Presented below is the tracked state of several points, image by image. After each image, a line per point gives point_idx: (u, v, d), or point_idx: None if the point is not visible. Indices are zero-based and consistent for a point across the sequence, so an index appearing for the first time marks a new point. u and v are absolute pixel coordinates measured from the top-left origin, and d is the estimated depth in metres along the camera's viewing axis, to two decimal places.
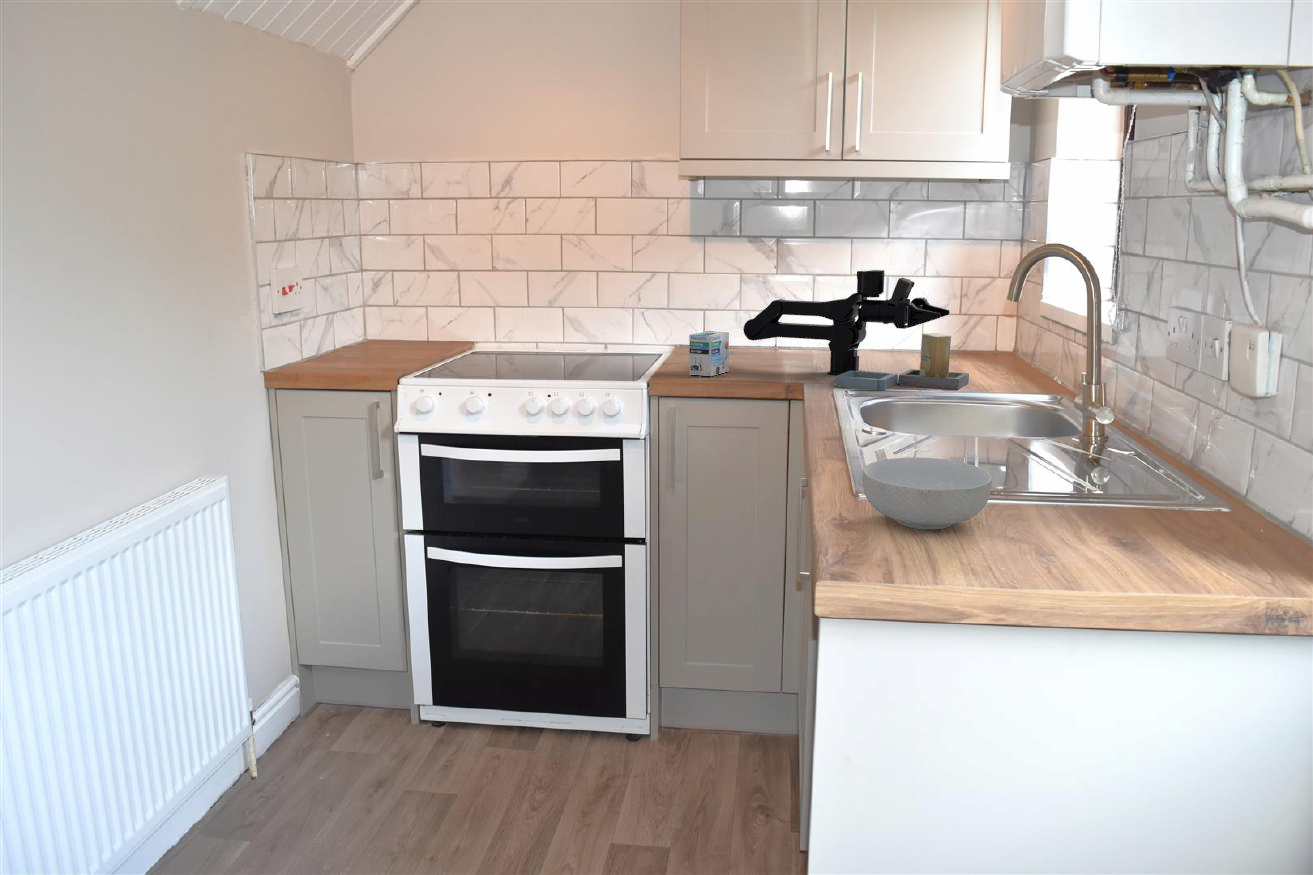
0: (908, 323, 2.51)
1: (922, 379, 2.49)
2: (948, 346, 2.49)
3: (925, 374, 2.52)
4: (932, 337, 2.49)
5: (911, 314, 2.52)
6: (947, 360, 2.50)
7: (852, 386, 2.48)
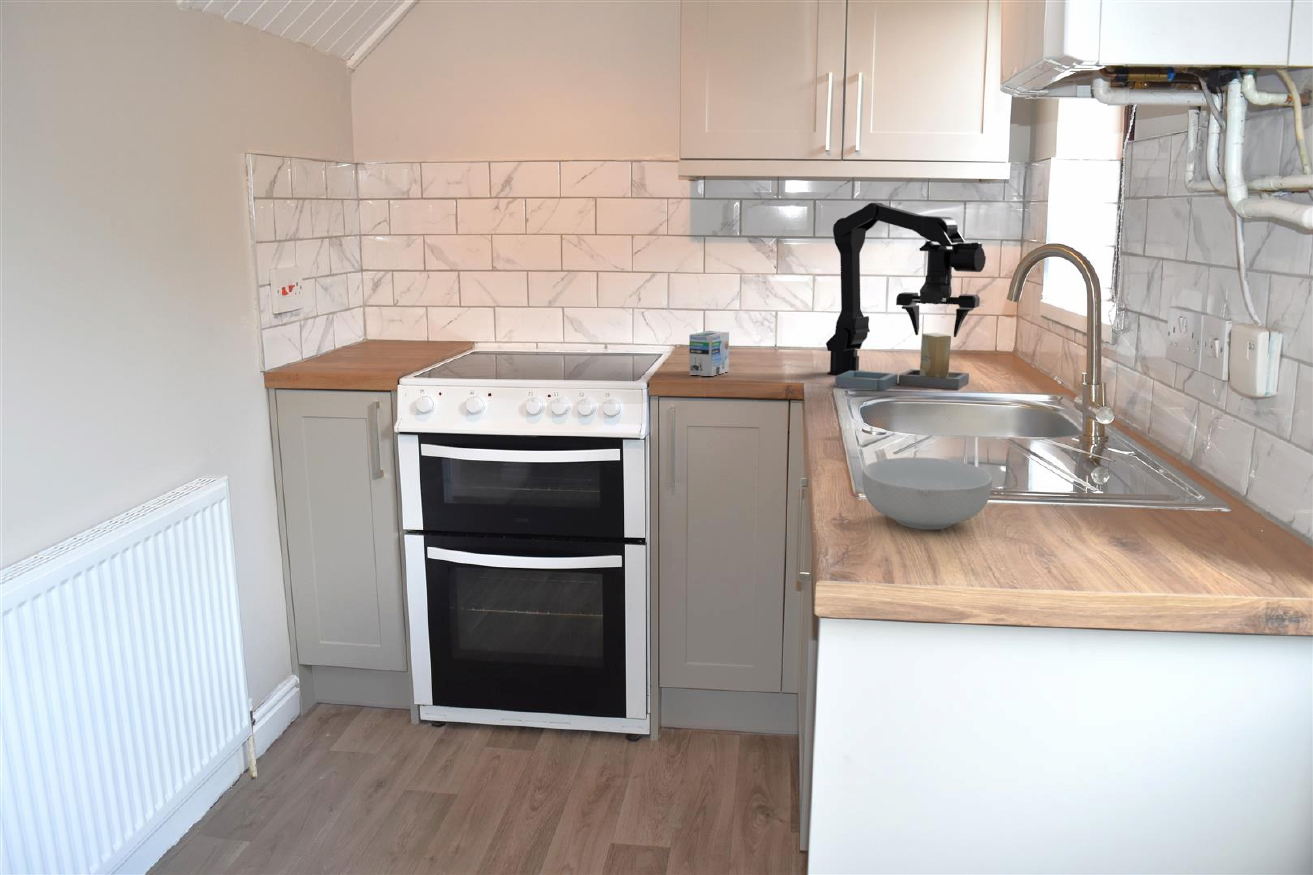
0: None
1: (922, 379, 2.49)
2: (948, 346, 2.49)
3: (925, 374, 2.52)
4: (932, 337, 2.49)
5: None
6: (947, 360, 2.50)
7: (852, 386, 2.48)
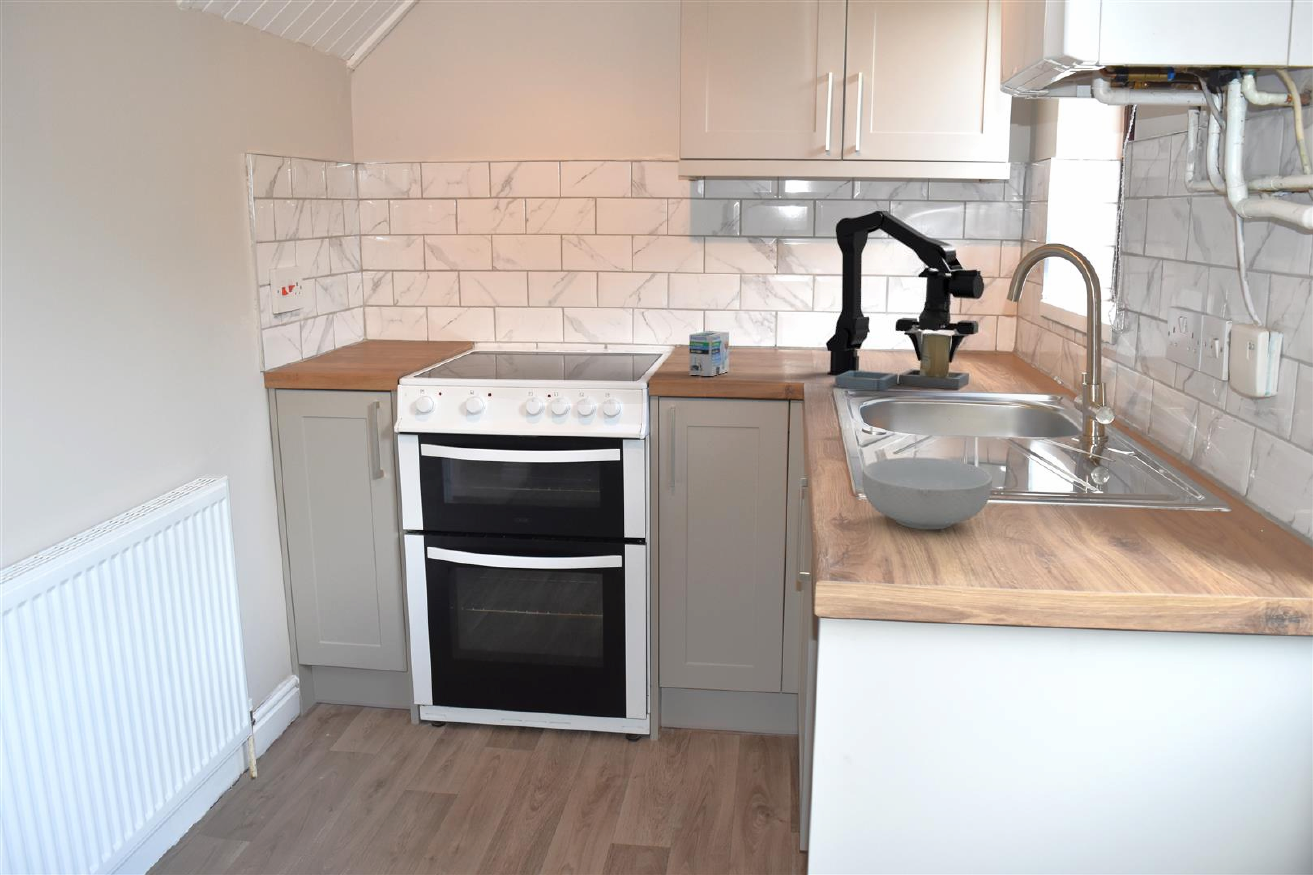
0: None
1: (922, 379, 2.49)
2: (948, 346, 2.49)
3: (925, 374, 2.52)
4: (932, 337, 2.49)
5: None
6: (947, 360, 2.50)
7: (852, 386, 2.48)
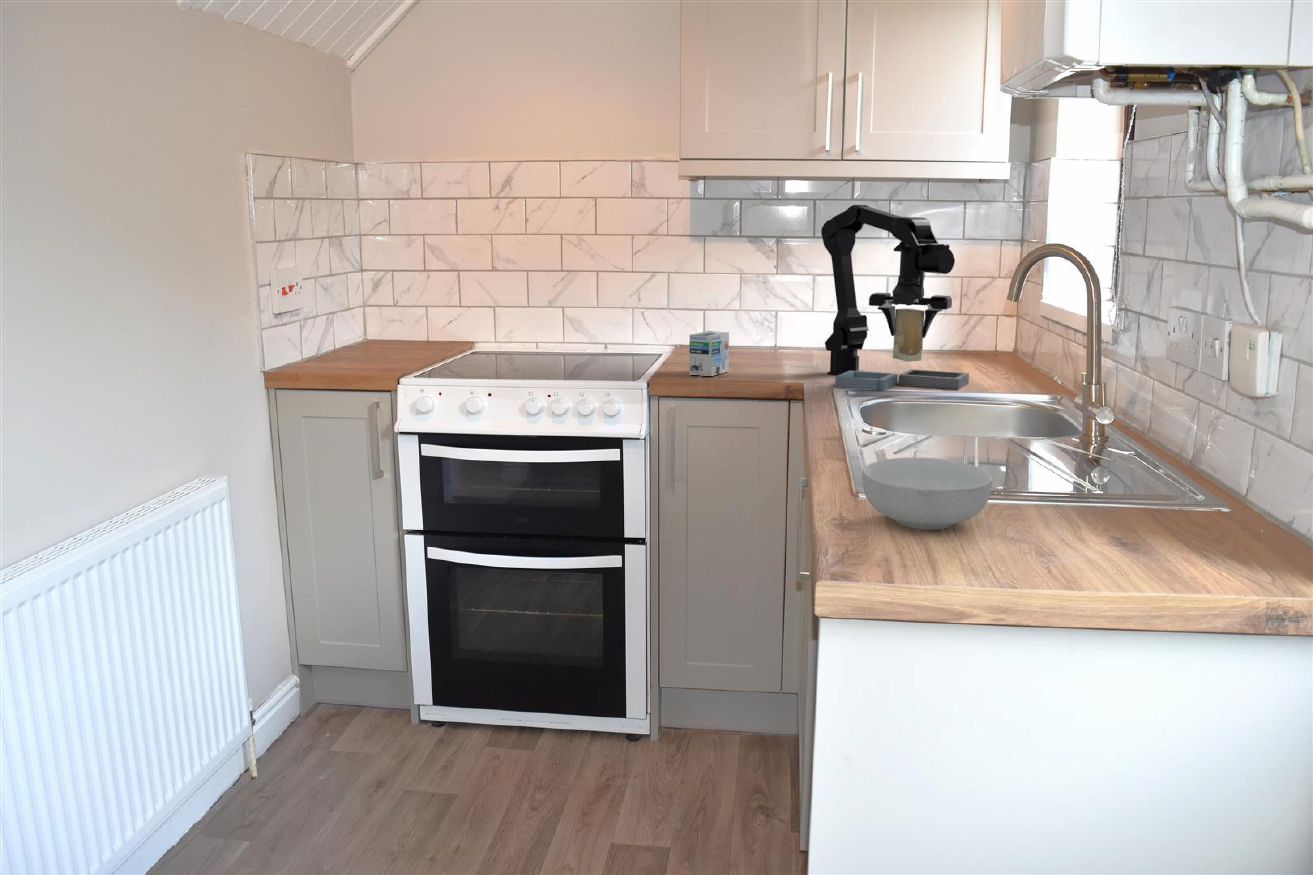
0: None
1: (922, 379, 2.49)
2: (921, 321, 2.47)
3: (899, 350, 2.51)
4: (905, 312, 2.47)
5: None
6: (920, 335, 2.48)
7: (852, 386, 2.48)
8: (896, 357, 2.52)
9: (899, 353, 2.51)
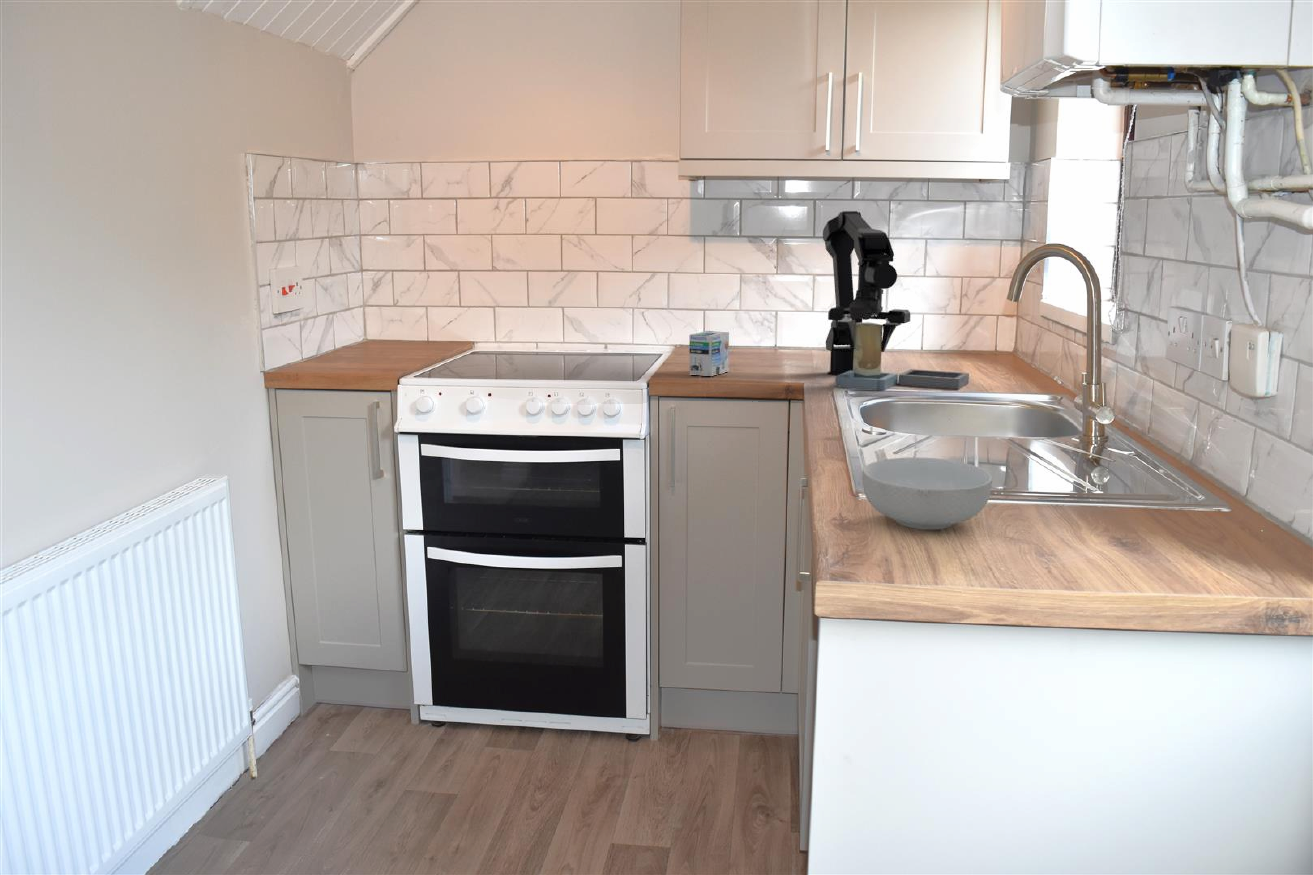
0: None
1: (922, 379, 2.49)
2: (880, 335, 2.47)
3: (858, 364, 2.51)
4: (863, 326, 2.47)
5: None
6: (879, 349, 2.48)
7: (852, 386, 2.48)
8: (856, 371, 2.52)
9: (859, 367, 2.51)
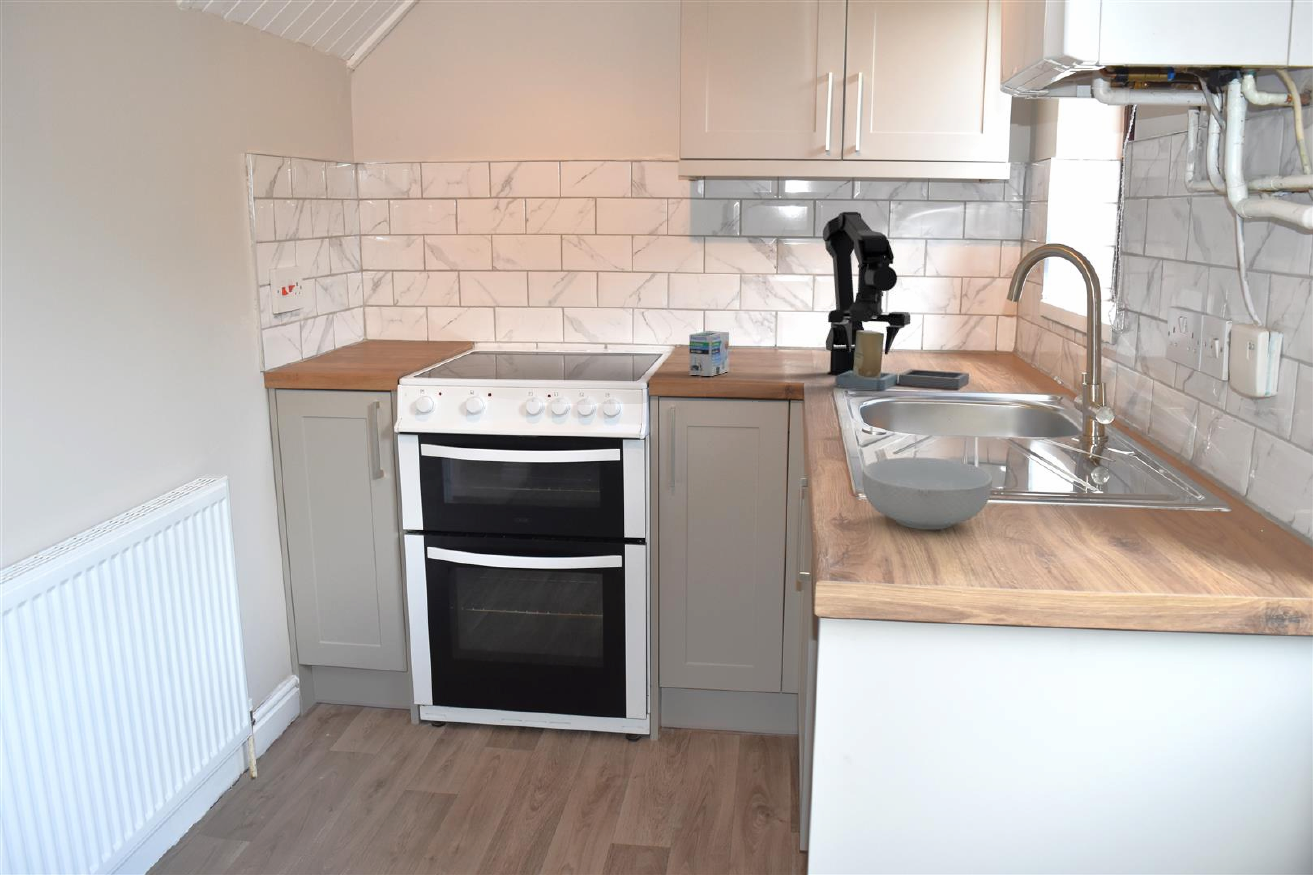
0: None
1: (922, 379, 2.49)
2: (881, 343, 2.48)
3: (858, 371, 2.51)
4: (865, 334, 2.48)
5: None
6: (879, 358, 2.48)
7: (852, 386, 2.48)
8: None
9: (859, 374, 2.51)
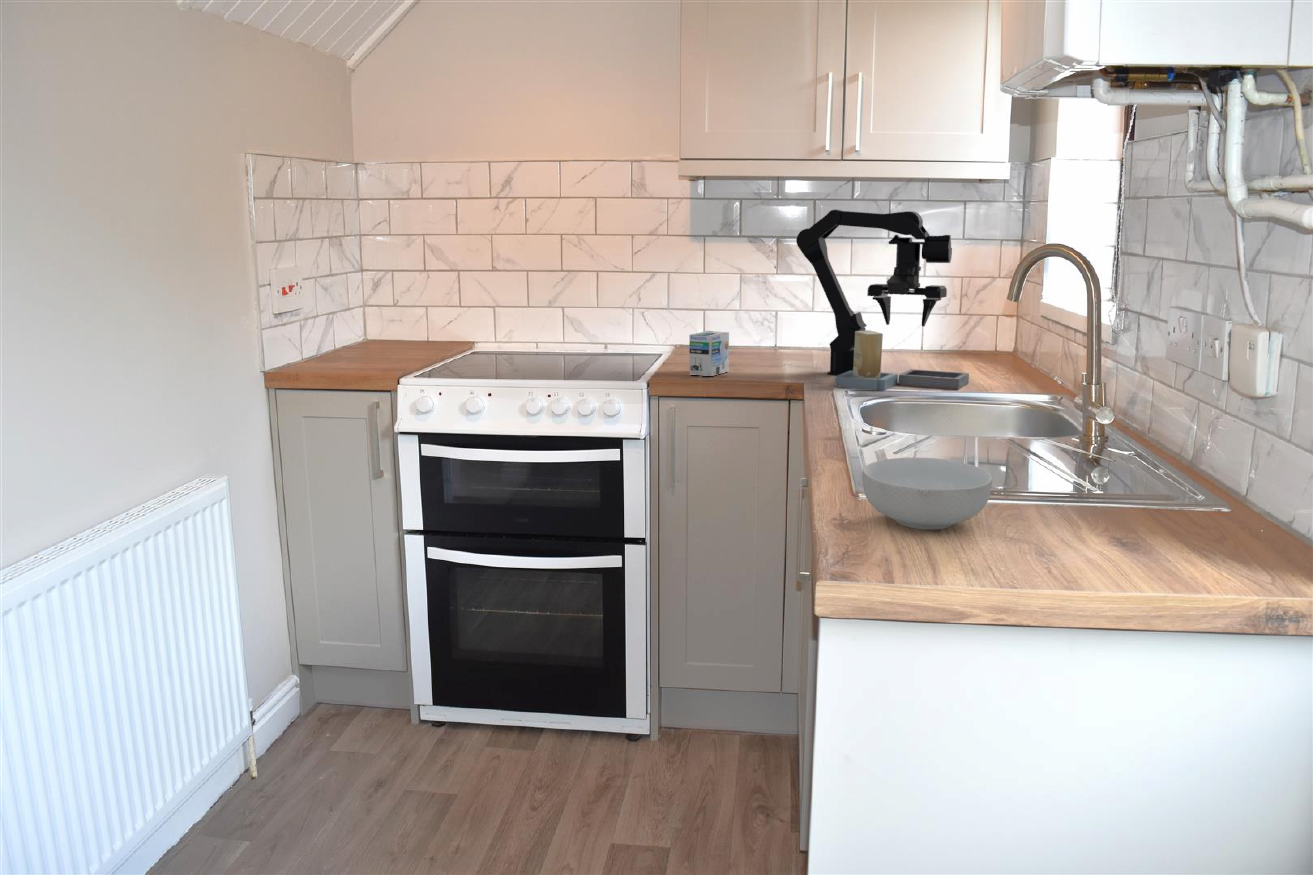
0: None
1: (922, 379, 2.49)
2: (880, 344, 2.48)
3: (858, 372, 2.51)
4: (863, 334, 2.47)
5: None
6: (879, 358, 2.48)
7: (852, 386, 2.48)
8: None
9: (858, 375, 2.51)
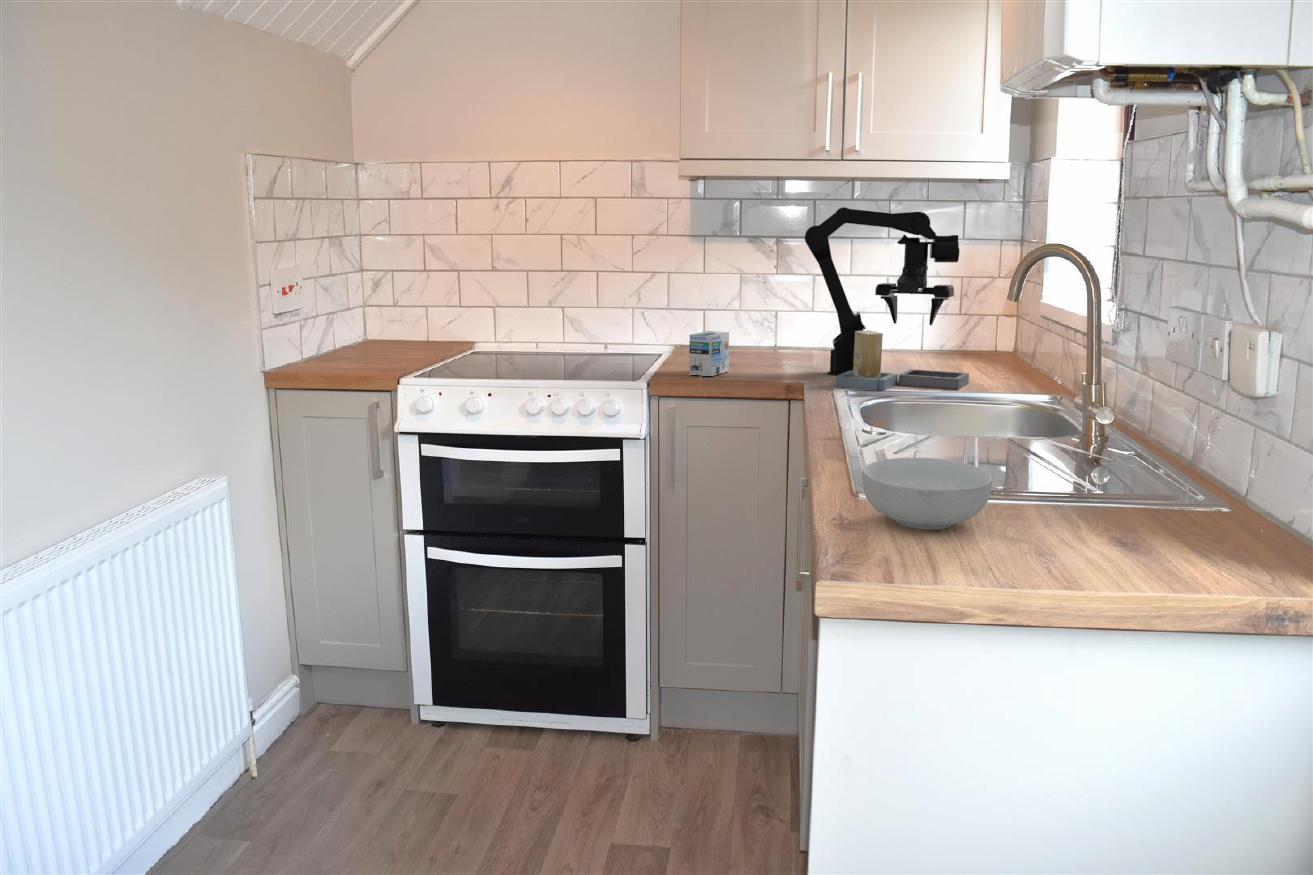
0: None
1: (922, 379, 2.49)
2: (880, 344, 2.48)
3: (858, 372, 2.51)
4: (863, 334, 2.47)
5: None
6: (879, 358, 2.48)
7: (852, 386, 2.48)
8: None
9: (858, 375, 2.51)
